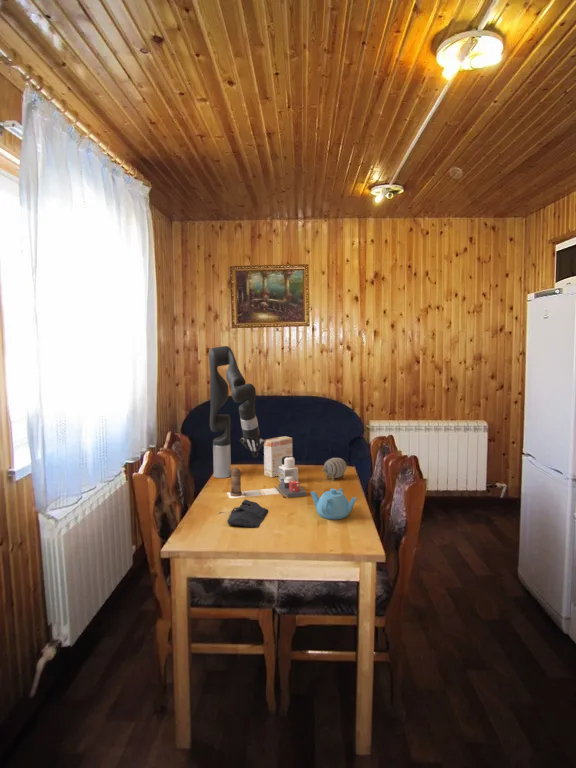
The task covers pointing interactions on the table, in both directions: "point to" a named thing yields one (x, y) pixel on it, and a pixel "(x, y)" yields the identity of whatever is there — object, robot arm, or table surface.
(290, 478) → the dome
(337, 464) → the toy sheep
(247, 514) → the black folded cloth
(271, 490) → the board
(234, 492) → the pawn
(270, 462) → the coffeecake box
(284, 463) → the container
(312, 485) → the table surface
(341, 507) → the teapot
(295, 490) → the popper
